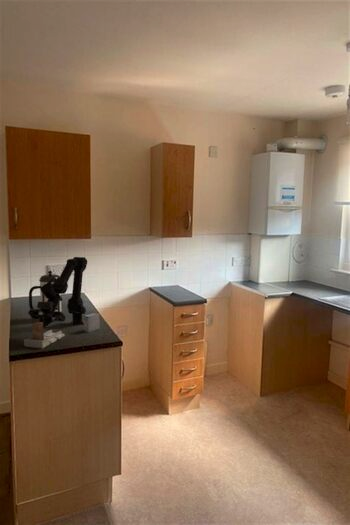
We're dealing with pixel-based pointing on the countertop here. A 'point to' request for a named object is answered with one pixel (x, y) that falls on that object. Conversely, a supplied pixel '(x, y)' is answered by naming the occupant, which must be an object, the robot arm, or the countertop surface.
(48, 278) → the coffee press
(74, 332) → the countertop surface
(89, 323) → the medicine box
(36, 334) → the slider
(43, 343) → the track
